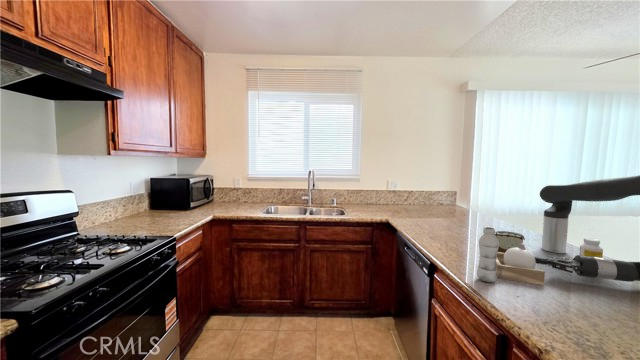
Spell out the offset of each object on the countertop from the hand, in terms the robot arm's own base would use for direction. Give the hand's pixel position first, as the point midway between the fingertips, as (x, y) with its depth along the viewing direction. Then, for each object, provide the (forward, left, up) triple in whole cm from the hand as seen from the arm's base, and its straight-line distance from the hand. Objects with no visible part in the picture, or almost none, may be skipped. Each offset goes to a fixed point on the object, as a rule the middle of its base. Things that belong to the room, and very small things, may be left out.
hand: (535, 260), depth 102 cm
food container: (-27, -3, -7) cm, 28 cm away
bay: (0, -6, -6) cm, 9 cm away
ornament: (0, -5, -6) cm, 8 cm away
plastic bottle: (+13, -18, -6) cm, 23 cm away
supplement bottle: (-16, +23, -6) cm, 29 cm away
